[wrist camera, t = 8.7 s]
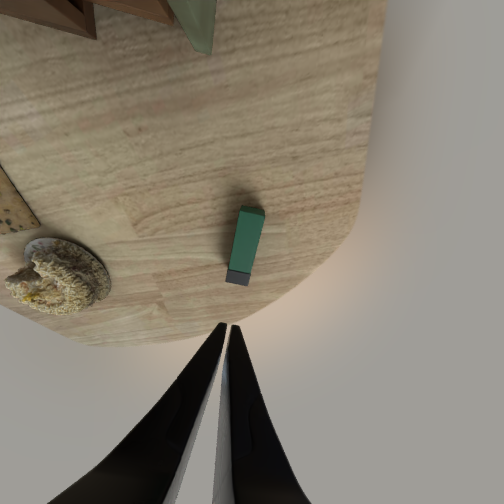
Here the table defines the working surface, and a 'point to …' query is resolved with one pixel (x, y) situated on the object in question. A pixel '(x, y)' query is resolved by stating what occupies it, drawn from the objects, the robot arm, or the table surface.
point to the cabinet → (54, 14)
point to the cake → (58, 277)
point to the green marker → (245, 245)
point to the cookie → (13, 209)
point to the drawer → (186, 11)
